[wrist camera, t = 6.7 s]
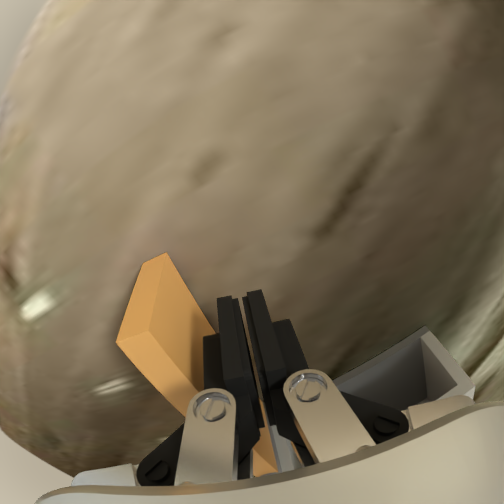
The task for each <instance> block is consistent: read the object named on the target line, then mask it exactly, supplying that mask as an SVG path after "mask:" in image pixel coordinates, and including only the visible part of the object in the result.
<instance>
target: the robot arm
mask: <svg viewBox="0 0 504 504" xmlns="http://www.w3.org/2000/svg"><path fill="white" fill-rule="evenodd" d="M242 300H243V304H244V309H245V314H246V319H247V324H248V329H249V334H250V339H251V343H252V348H253V353H254V358H255V362H256V367H257V372H258V376H259V381H260V385H261V390H262V394H263V398H264V403H265V407H266V412H267V416H268V420H269V425H270V426H273V425H276V427H277V431H278V433H279V435H280V436H282V437H284V438H286V439H288V440H290V441H291V445H292V447H293V449H294V451H295V453H296V455H297V457H298V459H299V461H300V463H301V465H302V467H303V468H299V469H295V470H291V471H286V472H282V473H277V474H272V475H266V476H261V477H255V478H253V449H252V448H253V447H254V446H255V444H256V443H257V442H258V441H259V440H260V436H261V435H260V430H259V428H264V427H265V424H264V419H263V414H262V410H261V405H260V400H259V395H258V390H257V385H256V380H255V375H254V370H253V365H252V360H251V355H250V351H249V346H248V342H247V338H246V333H245V329H244V324H243V320H242V315H241V311H240V306H239V301H238V298H236V299H232V296H226V297H221V298H217V308H218V321H219V333H218V334H213V335H207V336H203V373H204V391H201V392H199V393H198V394H196V395H195V396H194V397H193V398H192V399H191V401H190V403H189V405H188V409H187V414H186V419H185V423H184V424H183V425H181V426H180V427H179V428H178V429H177V430H176V431H175V432H174V433H173V434H172V435H170V436H169V437H168V438H167V439H166V440H165V441H164V442H163V443H161V444H160V445H159V446H158V447H157V448H156V449H155V450H153V451H152V452H151V453H150V454H149V455H148V456H147V457H145V458H144V459H143V460H142V461H141V463H140V464H138V465H133V464H132V463H130V464H125V465H120V466H114V467H109V468H103V469H97V470H90V471H84V472H81V473H79V474H78V475H76V476H75V477H74V479H73V481H72V484H71V486H70V487H65V488H60V489H57V490H54V491H51V492H49V493H46V494H44V495H42V496H41V497H40V498H38V500H37V501H36V502H35V504H504V401H491V402H483V403H479V404H475V402H474V401H473V400H472V399H471V398H470V397H468V396H465V395H456V396H452V397H448V398H444V399H440V400H436V401H432V402H428V403H423V404H419V405H414V406H409V407H408V408H407V410H402V411H400V410H398V409H395V408H393V407H389V406H386V405H382V404H379V403H376V402H373V401H369V400H366V399H363V398H360V397H357V396H354V395H351V394H348V393H345V392H342V391H339V390H338V389H337V387H336V386H335V384H334V383H333V381H332V380H331V378H330V377H329V376H328V375H327V374H325V373H324V372H322V371H319V370H315V369H309V367H308V365H307V362H306V360H305V357H304V354H303V352H302V349H301V347H300V344H299V342H298V339H297V337H296V334H295V331H294V329H293V326H292V324H291V322H290V320H289V319H286V320H282V321H277V322H273V323H272V322H271V319H270V315H269V312H268V309H267V306H266V303H265V299H264V296H263V293H262V290H256V291H251V292H247V296H246V297H242Z"/></svg>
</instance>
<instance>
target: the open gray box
mask: <svg viewBox="0 0 504 504" xmlns="http://www.w3.org/2000/svg"><path fill="white" fill-rule="evenodd" d="M332 381H333V383H334V384H335V386H336V387H337V389H338V390H339V391H342V392H345V393H348V394H351V395H354V396H357V397H360V398H363V399H366V400H369V401H373V402H376V403H379V404H382V405H386V406H389V407H393V408H395V409H398V410H400V411H402V410H407V408H408V407H409V406H414V405H419V404H423V403H428V402H432V401H436V400H440V399H444V398H448V397H452V396H456V395H465V396H468V397H470V398H471V399H472V400H473V396H474V391H475V384H474V383H473V382H472V381H471V379H470V378H469V377H468V375H467V374H466V373H465V372H464V370H463V369H462V368H461V367H460V366H459V364H458V363H457V362H456V361H455V359H454V358H453V357H452V356H451V355H450V353H449V352H448V351H447V350H446V349H445V348H444V346H443V345H442V344H441V343H440V342H439V340H438V339H437V338H436V337H435V336H434V335H433V334H432V332H431V331H430V330H429V329H428V328H427V327H426V326H423V327H422V328H421V329H419V330H418V331H416V332H415V333H413V334H411V335H410V336H408V337H407V338H405V339H404V340H402V341H401V342H399V343H397V344H396V345H394V346H393V347H391V348H389V349H388V350H386V351H384V352H383V353H381V354H379V355H378V356H376V357H374V358H373V359H371V360H369V361H367V362H366V363H364V364H362V365H360V366H358V367H357V368H355V369H353V370H351V371H349V372H347V373H346V374H344V375H342V376H340V377H338V378H336V379H334V380H332ZM272 431H273V435H274V439H275V443H276V448H277V452H278V456H279V460H280V464H281V469H282V472H286V471H291V470H295V469H299V468H303V467H302V465H301V463H300V461H299V459H298V457H297V455H296V453H295V451H294V449H293V447H292V445H291V441H290V440H288V439H286V438H284V437H282V436H280V435H279V433H278V431H277V427H276V425H273V426H272Z"/></svg>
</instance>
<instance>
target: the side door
mask: <svg viewBox="0 0 504 504" xmlns="http://www.w3.org/2000/svg"><path fill="white" fill-rule="evenodd" d="M213 334H216V333H215V332H214V330H213V328H212V327H211V325H210V324H209V322H208V321H207V319H206V317H205V316H204V314H203V313H202V311H201V309H200V308H199V306H198V304H197V303H196V301H195V300H194V298H193V296H192V295H191V293H190V291H189V290H188V288H187V286H186V285H185V283H184V281H183V280H182V278H181V276H180V275H179V273H178V271H177V269H176V268H175V266H174V264H173V263H172V261H171V259H170V257H169V256H168V254H167V252H166V253H164V254H162V255H159V256H157V257H155V258H153V259H151V260H149V261H146V262H144V263H143V264H142V267H141V270H140V272H139V275H138V278H137V281H136V283H135V286H134V289H133V292H132V295H131V297H130V300H129V303H128V306H127V309H126V312H125V315H124V318H123V321H122V324H121V327H120V331H119V334H118V337H117V340H116V344H117V345H118V346H119V347H120V348H121V350H122V351H123V352H124V353H125V354H126V355H127V357H128V358H129V359H130V360H131V361H132V362H133V364H134V365H135V366H136V367H137V368H138V369H139V370H140V371H141V372H142V374H143V375H144V376H145V377H146V378H147V379H148V380H149V381H150V382H151V383H152V384H153V385H154V387H155V388H156V389H157V390H158V391H159V392H160V393H161V394H162V395H163V396H164V397H165V398H166V399H167V400H168V401H169V402H170V403H171V404H172V405H173V406H174V407H175V408H176V409H177V410H178V411H179V412H180V413H181V414H182V415H183V416H184V417H185V418H186V414H187V409H188V405H189V403H190V401H191V399H192V398H193V397H194V396H195V395H196V394H198V393H199V392H201V391H204V373H203V336H207V335H213ZM259 400H260V398H259ZM260 405H261V410H262V414H263V419H264V424H265V427H264V428H259V430H260V435H261V436H260V440H259V441H258V442H257V443H256V444H255V446H254V447H253V448H252V449H253V475H254V476H255V477H261V476H266V475H272V474H277V473H282V469H281V464H280V460H279V456H278V452H277V448H276V443H275V439H274V435H273V431H272V426H270V425H269V420H268V416H267V412H266V407H265V403H264V402H263V401H261V400H260Z"/></svg>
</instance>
